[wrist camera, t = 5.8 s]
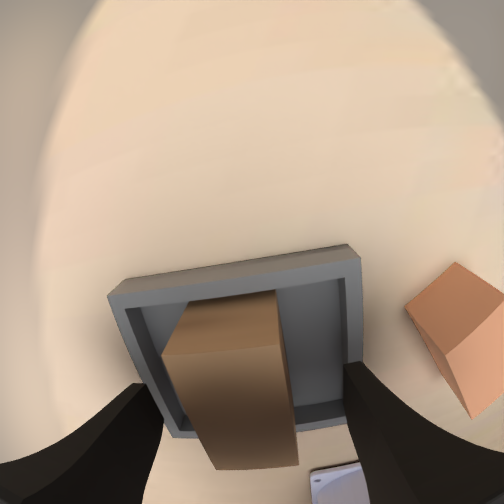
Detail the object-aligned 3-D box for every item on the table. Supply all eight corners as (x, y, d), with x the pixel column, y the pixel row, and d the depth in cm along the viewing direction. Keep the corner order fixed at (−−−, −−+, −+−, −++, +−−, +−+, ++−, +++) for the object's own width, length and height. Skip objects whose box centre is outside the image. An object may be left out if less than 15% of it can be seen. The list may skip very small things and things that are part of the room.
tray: (351, 397, 13) (359, 420, 12) (179, 415, 14) (172, 437, 12) (347, 243, 11) (360, 257, 9) (124, 279, 12) (106, 295, 10)
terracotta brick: (482, 337, 12) (519, 377, 8) (440, 373, 13) (471, 419, 9) (454, 261, 11) (507, 296, 7) (403, 305, 12) (444, 355, 8)
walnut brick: (292, 397, 13) (299, 464, 9) (226, 404, 13) (215, 469, 9) (274, 283, 11) (279, 344, 7) (192, 295, 11) (161, 355, 7)
